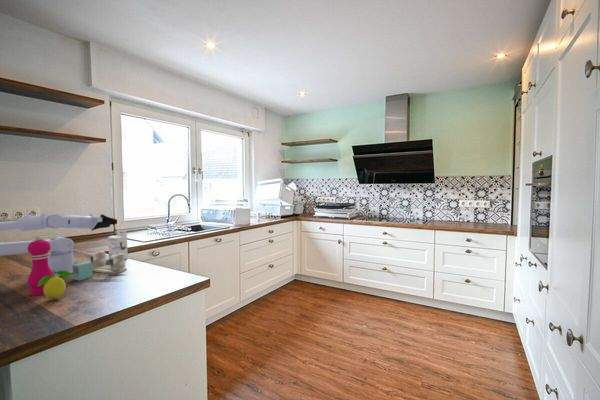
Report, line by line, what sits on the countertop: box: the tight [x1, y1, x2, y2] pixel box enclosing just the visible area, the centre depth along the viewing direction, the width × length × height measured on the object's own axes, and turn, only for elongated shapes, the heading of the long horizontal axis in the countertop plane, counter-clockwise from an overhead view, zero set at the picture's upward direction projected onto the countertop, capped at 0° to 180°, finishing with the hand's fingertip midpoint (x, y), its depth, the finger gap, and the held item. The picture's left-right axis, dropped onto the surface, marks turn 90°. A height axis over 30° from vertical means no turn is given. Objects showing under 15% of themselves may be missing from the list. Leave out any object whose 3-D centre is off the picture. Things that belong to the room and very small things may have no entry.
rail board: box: [89, 250, 128, 275], centre depth 125 cm, size 6×15×7 cm, turn 68°
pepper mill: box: [26, 235, 55, 296], centre depth 100 cm, size 7×7×20 cm
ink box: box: [107, 229, 129, 260], centre depth 144 cm, size 9×5×15 cm, turn 62°
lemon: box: [38, 269, 73, 300], centre depth 93 cm, size 7×6×10 cm
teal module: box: [72, 261, 94, 282], centre depth 115 cm, size 5×4×6 cm
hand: (113, 223), depth 137 cm, fingers open, 7 cm apart
